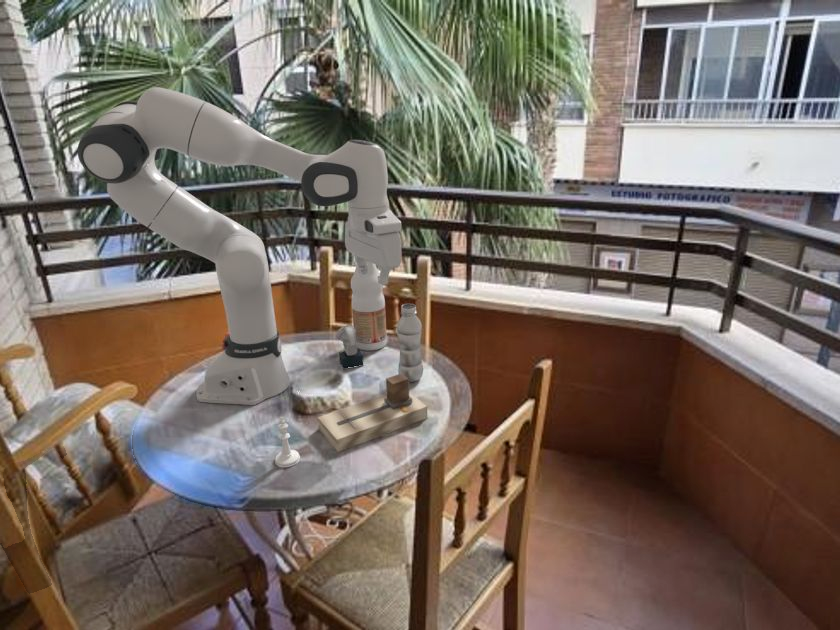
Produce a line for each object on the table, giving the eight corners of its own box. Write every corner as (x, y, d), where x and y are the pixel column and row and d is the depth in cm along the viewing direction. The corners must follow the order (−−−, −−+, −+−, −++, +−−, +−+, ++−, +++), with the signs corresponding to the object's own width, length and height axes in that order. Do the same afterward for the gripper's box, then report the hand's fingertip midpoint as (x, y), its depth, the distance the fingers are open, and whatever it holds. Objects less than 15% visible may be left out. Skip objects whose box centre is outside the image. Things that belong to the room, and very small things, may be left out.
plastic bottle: (424, 372, 140) (423, 301, 133) (422, 385, 134) (420, 311, 127) (400, 372, 141) (397, 301, 133) (396, 385, 135) (393, 311, 127)
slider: (393, 409, 118) (392, 385, 116) (384, 401, 122) (382, 378, 119) (412, 402, 121) (411, 379, 119) (403, 395, 124) (402, 372, 122)
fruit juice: (357, 353, 152) (350, 258, 142) (352, 340, 161) (345, 249, 150) (390, 348, 154) (385, 254, 144) (383, 336, 163) (378, 246, 152)
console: (338, 452, 110) (336, 439, 109) (318, 429, 118) (317, 416, 116) (427, 417, 121) (427, 405, 120) (404, 398, 129) (403, 387, 127)
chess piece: (292, 449, 111) (286, 407, 107) (304, 460, 108) (299, 417, 104) (270, 459, 108) (264, 417, 104) (282, 470, 105) (275, 427, 101)
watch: (357, 356, 151) (354, 319, 146) (365, 368, 144) (362, 330, 140) (337, 359, 149) (334, 323, 145) (344, 372, 142) (341, 334, 138)
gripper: (335, 212, 123) (340, 270, 128) (379, 228, 107) (382, 293, 112) (360, 209, 126) (364, 265, 131) (405, 224, 110) (408, 287, 115)
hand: (372, 278), depth 122 cm, fingers open, 8 cm apart
